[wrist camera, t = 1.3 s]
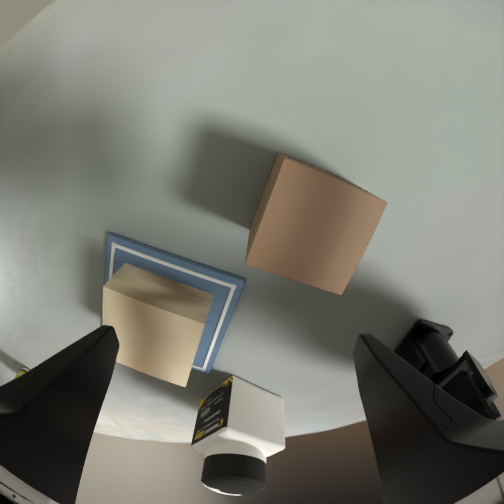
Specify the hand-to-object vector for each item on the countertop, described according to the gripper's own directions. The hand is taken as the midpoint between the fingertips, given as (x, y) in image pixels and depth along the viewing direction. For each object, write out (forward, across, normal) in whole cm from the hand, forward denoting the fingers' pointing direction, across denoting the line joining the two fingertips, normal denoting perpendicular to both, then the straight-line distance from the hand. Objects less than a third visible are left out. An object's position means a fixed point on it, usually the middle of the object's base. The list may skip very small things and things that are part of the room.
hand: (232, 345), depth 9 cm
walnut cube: (+12, -4, -2) cm, 13 cm away
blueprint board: (+12, +8, +8) cm, 17 cm away
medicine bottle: (+12, +1, +21) cm, 24 cm away
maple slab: (+12, +8, +8) cm, 16 cm away
